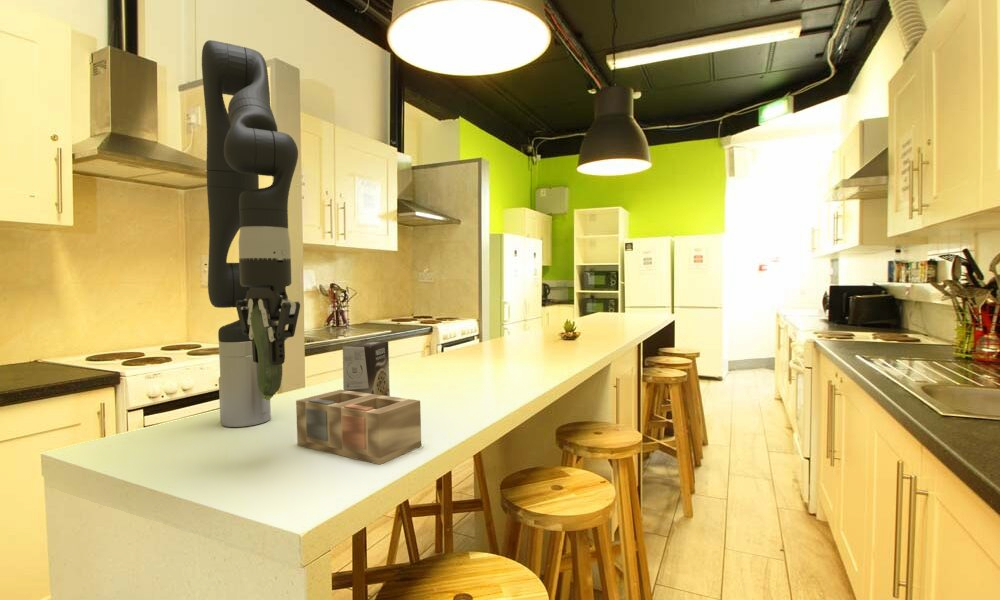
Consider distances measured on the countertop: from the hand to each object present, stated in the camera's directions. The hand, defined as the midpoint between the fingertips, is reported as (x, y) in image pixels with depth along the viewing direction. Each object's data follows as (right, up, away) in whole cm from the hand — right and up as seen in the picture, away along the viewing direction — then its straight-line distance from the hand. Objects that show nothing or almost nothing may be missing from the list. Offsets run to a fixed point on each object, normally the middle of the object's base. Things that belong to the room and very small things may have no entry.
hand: (268, 362), depth 81 cm
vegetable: (0, -6, 0) cm, 6 cm away
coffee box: (+10, -15, +24) cm, 30 cm away
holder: (+13, -16, +7) cm, 21 cm away
